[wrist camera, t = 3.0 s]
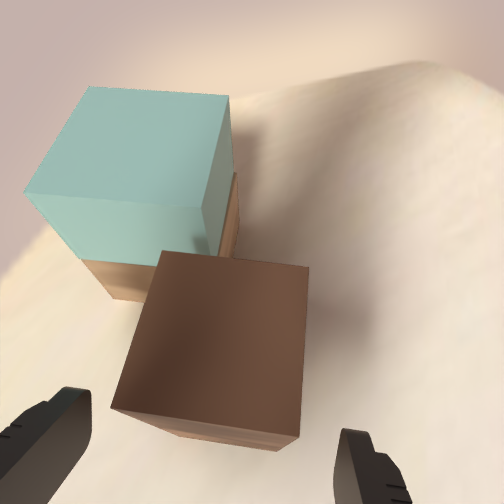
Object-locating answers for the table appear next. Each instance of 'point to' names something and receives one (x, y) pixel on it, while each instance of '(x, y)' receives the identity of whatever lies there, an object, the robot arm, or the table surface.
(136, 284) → the tower base
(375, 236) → the table surface
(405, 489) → the robot arm
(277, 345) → the post
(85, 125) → the tower top
